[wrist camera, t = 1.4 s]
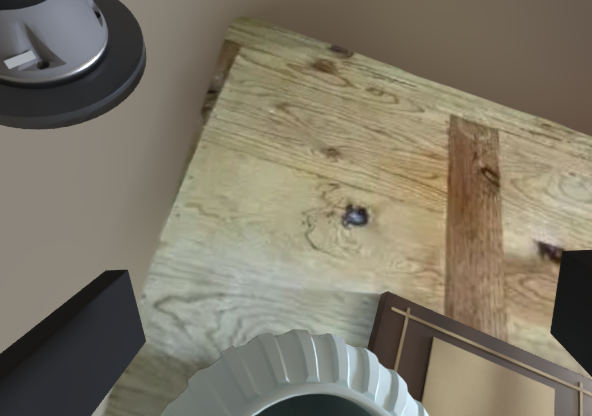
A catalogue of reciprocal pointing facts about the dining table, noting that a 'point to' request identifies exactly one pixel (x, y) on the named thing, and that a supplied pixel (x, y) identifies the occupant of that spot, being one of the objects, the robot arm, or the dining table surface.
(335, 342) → the vase
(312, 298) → the dining table surface
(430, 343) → the picture frame
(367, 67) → the dining table surface
